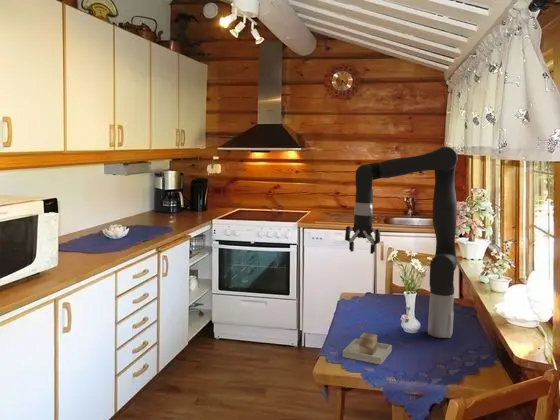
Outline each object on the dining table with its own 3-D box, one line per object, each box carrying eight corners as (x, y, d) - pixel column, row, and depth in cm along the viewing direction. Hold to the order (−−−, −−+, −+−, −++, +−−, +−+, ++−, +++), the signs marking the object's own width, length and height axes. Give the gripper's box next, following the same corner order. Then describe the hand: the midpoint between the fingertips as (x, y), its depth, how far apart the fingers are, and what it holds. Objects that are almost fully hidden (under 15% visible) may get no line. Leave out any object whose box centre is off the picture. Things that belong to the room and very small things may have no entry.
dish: (391, 351, 204) (391, 345, 203) (380, 364, 191) (380, 358, 191) (355, 344, 210) (355, 338, 210) (342, 356, 198) (342, 350, 197)
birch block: (376, 350, 202) (377, 335, 201) (372, 355, 197) (373, 339, 196) (363, 348, 204) (363, 332, 203) (359, 352, 199) (359, 336, 199)
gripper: (383, 213, 226) (381, 252, 228) (349, 211, 232) (348, 249, 234) (377, 215, 219) (376, 256, 221) (343, 213, 225) (342, 252, 228)
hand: (361, 252), depth 228 cm, fingers open, 8 cm apart
